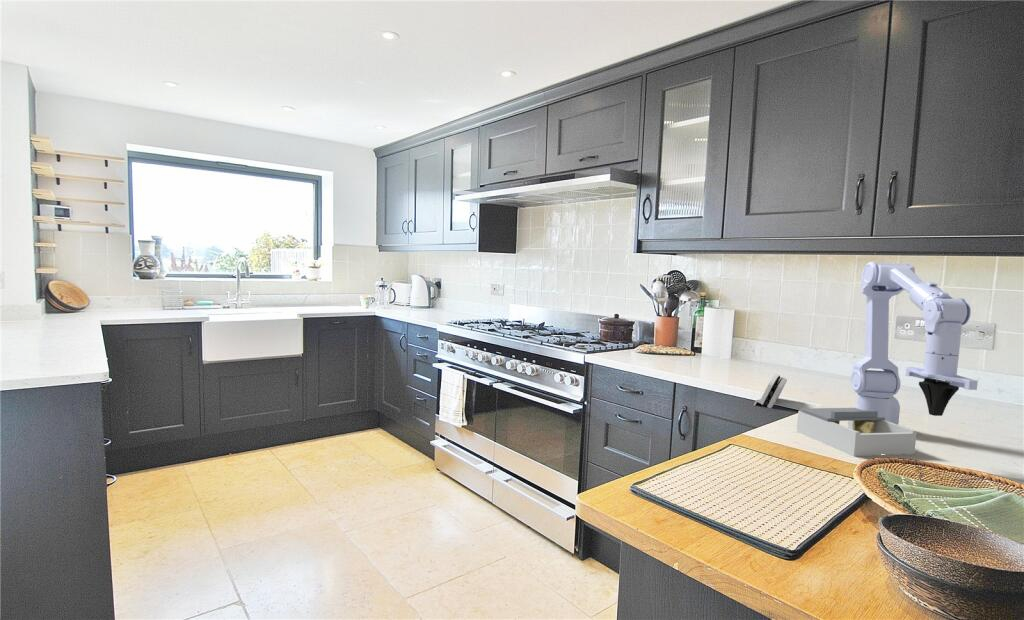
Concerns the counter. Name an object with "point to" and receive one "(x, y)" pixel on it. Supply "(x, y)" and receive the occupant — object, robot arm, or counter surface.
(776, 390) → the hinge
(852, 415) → the lid
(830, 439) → the box
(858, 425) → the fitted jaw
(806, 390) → the counter surface
